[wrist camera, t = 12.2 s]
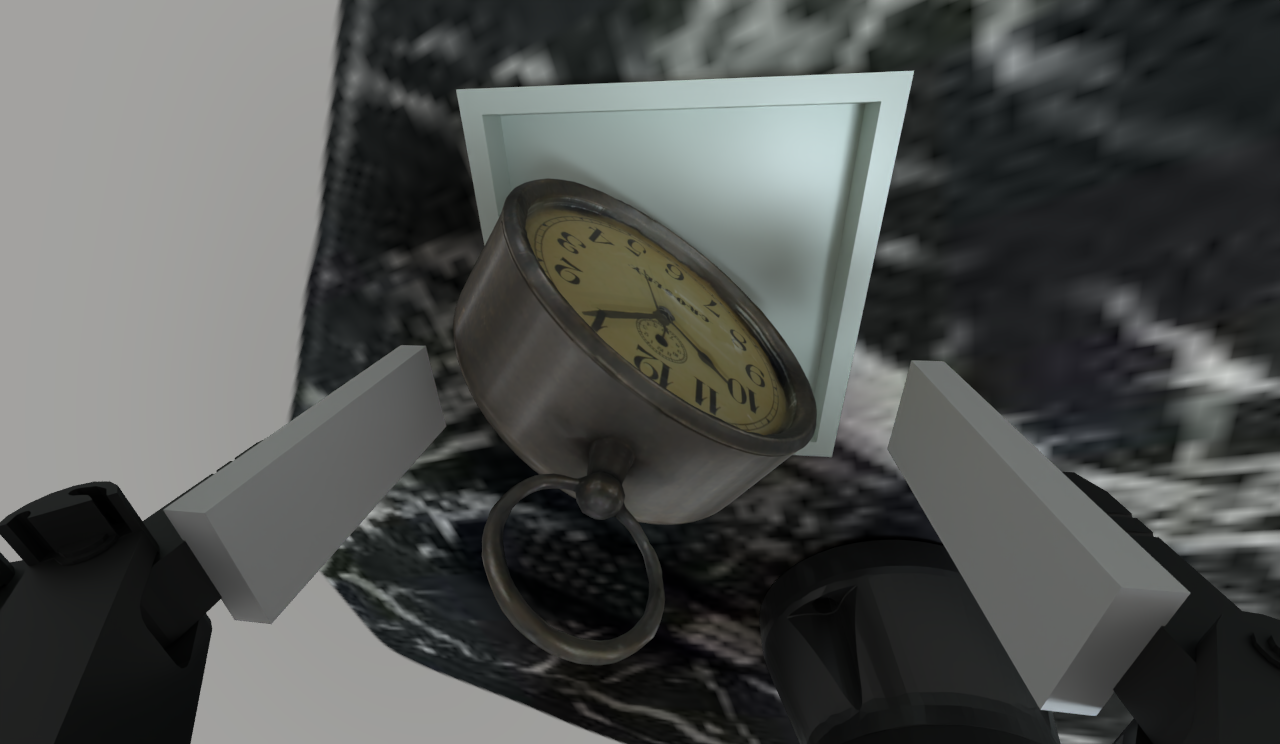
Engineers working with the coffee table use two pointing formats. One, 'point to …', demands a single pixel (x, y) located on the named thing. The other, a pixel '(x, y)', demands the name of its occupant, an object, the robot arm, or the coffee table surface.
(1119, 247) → the coffee table surface
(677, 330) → the alarm clock
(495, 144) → the tray
